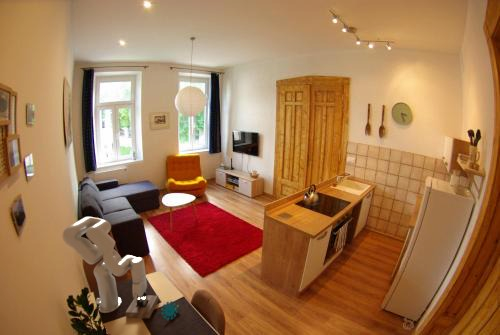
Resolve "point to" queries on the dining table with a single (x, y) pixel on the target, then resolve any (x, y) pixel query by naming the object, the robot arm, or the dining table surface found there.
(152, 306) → the bore block
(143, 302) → the peg
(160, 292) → the dining table surface
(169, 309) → the gear
